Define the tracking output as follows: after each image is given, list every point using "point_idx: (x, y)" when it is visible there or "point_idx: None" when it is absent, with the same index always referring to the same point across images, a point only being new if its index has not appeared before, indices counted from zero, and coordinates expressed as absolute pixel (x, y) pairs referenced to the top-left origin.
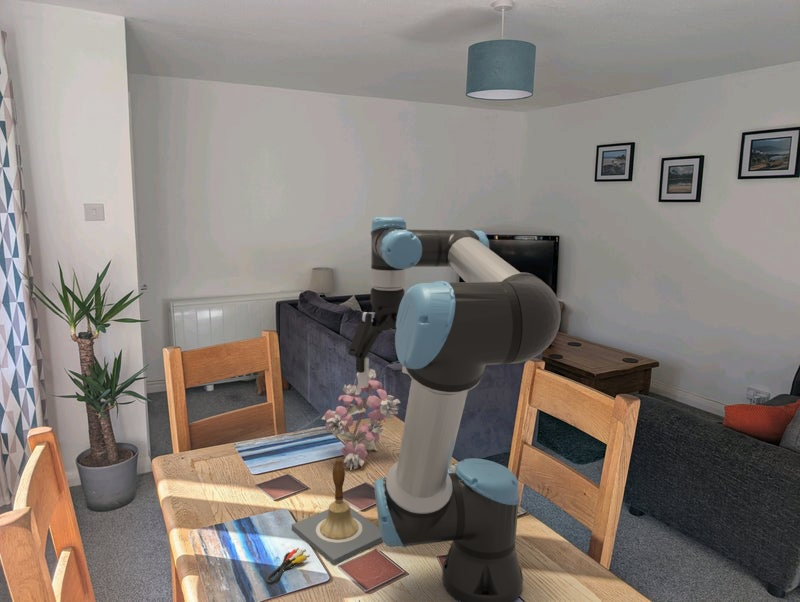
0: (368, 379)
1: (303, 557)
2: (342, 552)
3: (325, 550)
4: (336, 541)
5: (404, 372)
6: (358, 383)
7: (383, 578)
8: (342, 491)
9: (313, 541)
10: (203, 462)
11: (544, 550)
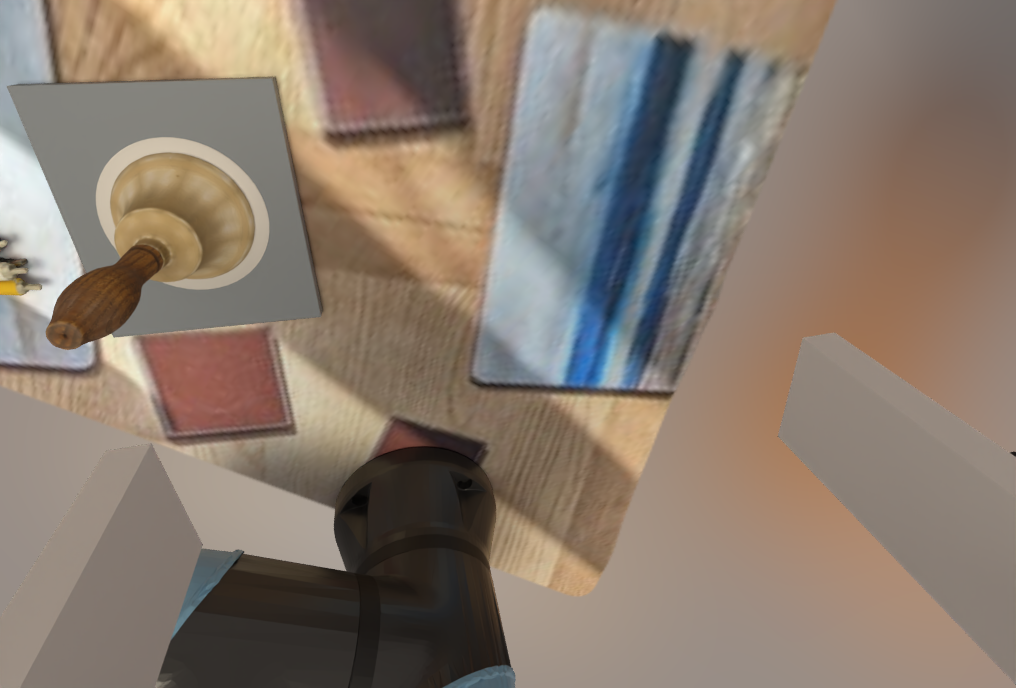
0: (174, 621)
1: (12, 294)
2: (151, 323)
3: None
4: None
5: (797, 375)
6: (105, 466)
7: (230, 421)
8: (147, 280)
9: (73, 230)
10: None
11: (588, 492)
